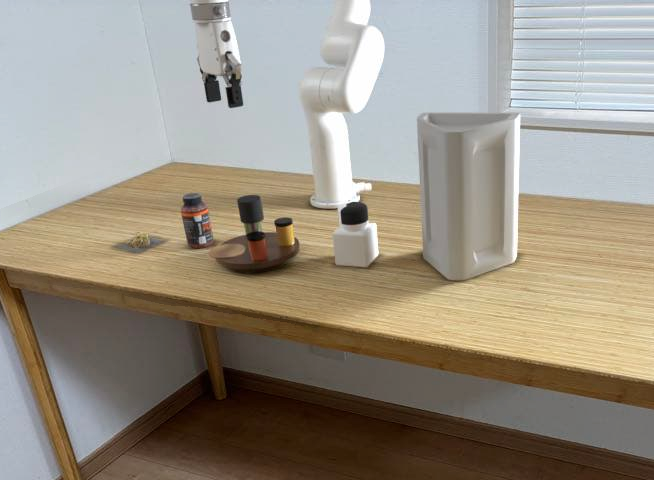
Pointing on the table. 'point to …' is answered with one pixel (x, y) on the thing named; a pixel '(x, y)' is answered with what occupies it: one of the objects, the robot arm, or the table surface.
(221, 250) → the spice rack
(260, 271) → the rack base
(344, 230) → the medicine bottle
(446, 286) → the table surface
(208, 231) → the supplement bottle
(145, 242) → the dice set
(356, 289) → the table surface
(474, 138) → the white triangular tub
